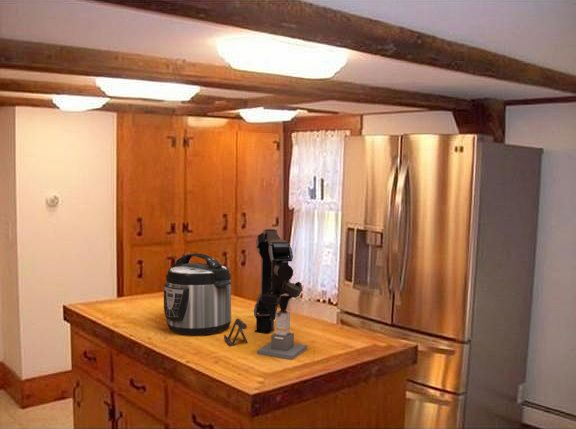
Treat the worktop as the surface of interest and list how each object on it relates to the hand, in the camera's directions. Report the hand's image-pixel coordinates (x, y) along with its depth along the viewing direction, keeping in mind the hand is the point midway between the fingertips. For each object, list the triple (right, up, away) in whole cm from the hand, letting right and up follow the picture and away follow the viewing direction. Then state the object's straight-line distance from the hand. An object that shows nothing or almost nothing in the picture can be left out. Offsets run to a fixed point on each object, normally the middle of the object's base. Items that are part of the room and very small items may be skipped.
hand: (278, 317), depth 217 cm
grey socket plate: (+1, -13, 0) cm, 13 cm away
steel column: (+2, -7, 0) cm, 8 cm away
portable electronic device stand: (-17, -12, +11) cm, 23 cm away
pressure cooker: (-35, -10, +30) cm, 47 cm away
